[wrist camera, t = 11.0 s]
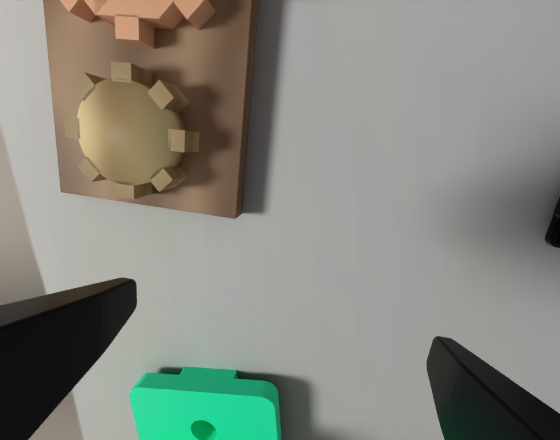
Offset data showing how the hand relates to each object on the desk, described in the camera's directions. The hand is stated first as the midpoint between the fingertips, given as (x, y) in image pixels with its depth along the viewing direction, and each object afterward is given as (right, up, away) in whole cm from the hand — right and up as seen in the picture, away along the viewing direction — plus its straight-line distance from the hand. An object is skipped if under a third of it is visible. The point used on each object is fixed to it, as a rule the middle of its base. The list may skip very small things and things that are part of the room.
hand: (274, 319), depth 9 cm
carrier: (-8, +14, +10) cm, 19 cm away
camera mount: (-6, -13, +17) cm, 23 cm away
